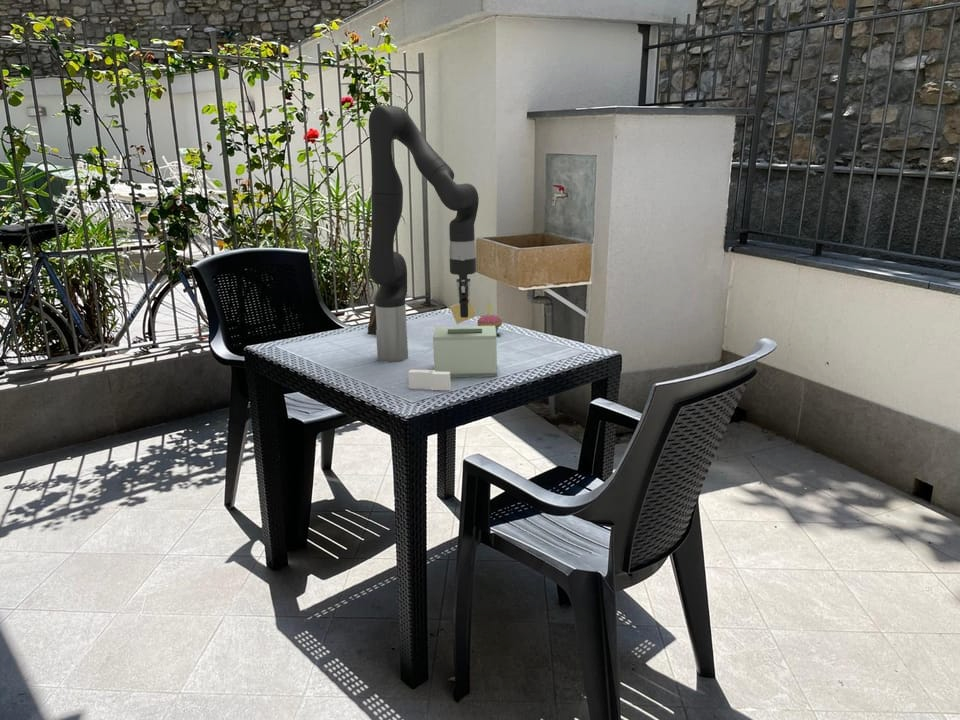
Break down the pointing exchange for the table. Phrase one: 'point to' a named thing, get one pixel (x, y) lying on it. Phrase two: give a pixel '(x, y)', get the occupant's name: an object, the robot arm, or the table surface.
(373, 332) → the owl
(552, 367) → the table surface
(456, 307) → the tan brushed block
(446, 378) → the napkin holder
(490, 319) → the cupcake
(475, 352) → the box
